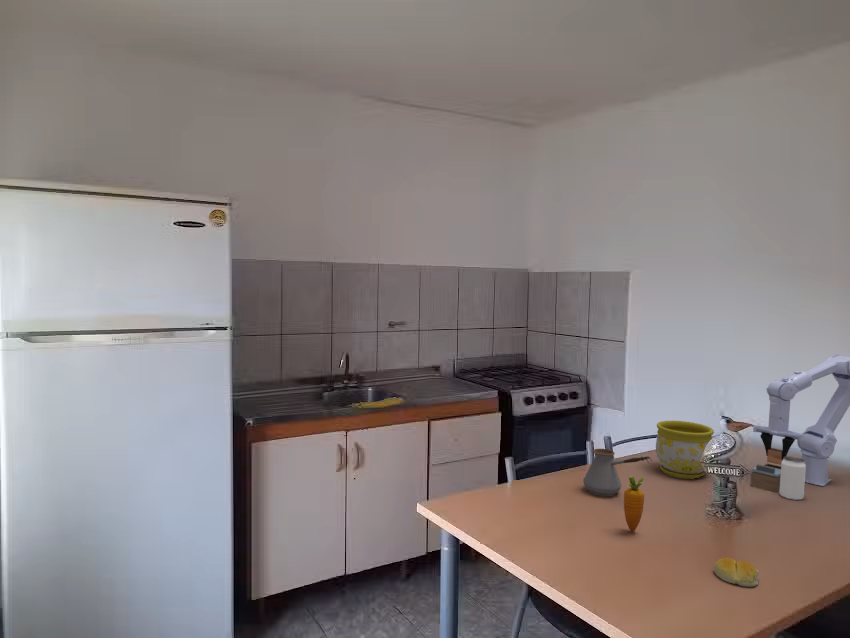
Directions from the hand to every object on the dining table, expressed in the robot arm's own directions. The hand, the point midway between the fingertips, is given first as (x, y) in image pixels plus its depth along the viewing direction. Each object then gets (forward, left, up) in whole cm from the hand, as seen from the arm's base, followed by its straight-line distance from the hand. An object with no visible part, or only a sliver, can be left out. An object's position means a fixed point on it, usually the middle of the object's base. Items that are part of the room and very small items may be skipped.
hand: (776, 457), depth 198 cm
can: (+11, +8, -9) cm, 16 cm away
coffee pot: (+55, -27, -9) cm, 62 cm away
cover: (+7, 0, -3) cm, 8 cm away
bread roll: (+79, +16, -9) cm, 81 cm away
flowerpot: (+16, -24, -9) cm, 30 cm away
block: (0, 0, -2) cm, 2 cm away
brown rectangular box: (+3, 0, -8) cm, 9 cm away
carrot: (+75, -11, -9) cm, 76 cm away
